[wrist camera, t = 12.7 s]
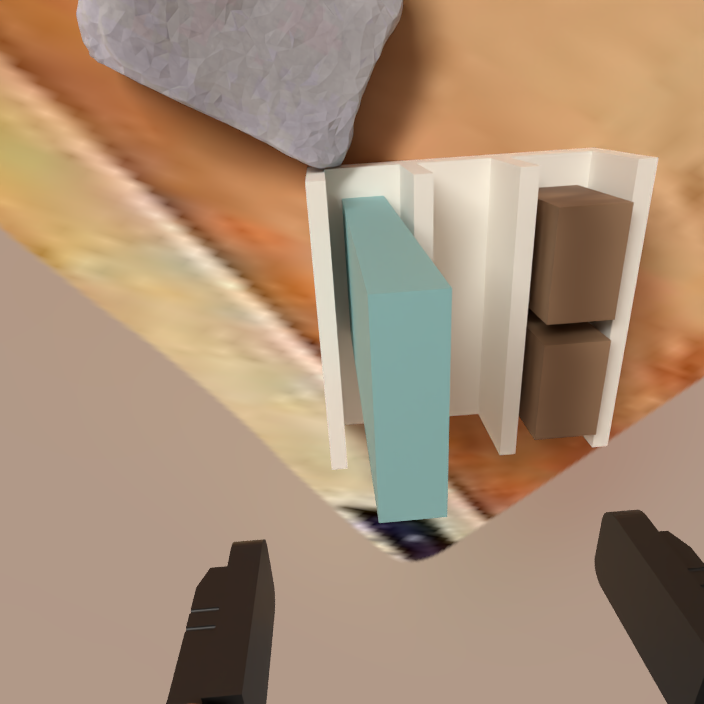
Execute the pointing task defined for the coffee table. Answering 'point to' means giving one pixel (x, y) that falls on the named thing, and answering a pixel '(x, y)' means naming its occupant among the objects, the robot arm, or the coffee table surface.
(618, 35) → the coffee table surface
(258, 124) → the stone block
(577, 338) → the offcut
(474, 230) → the rack
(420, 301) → the sheet
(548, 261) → the offcut
